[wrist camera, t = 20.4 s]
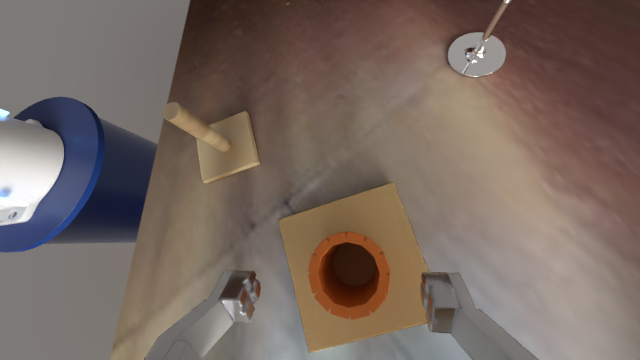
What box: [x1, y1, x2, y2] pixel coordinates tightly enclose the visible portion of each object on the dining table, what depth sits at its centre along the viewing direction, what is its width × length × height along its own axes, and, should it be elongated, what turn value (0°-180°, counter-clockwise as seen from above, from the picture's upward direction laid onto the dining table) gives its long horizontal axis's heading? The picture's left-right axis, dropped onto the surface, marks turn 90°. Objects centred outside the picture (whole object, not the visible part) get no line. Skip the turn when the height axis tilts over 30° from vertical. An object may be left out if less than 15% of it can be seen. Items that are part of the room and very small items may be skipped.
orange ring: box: [308, 231, 391, 320], centre depth 21 cm, size 6×6×8 cm
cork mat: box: [278, 182, 429, 353], centre depth 25 cm, size 14×14×1 cm
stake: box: [162, 102, 260, 183], centre depth 28 cm, size 8×8×10 cm
